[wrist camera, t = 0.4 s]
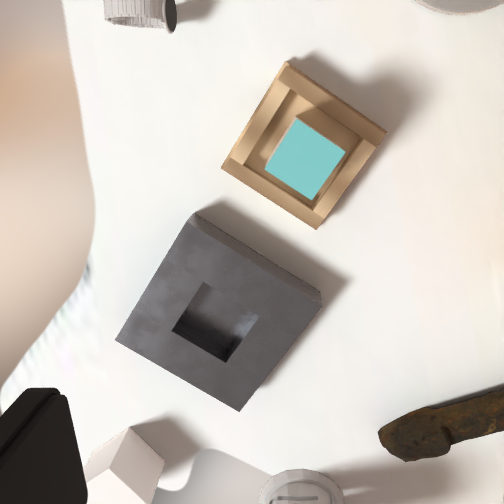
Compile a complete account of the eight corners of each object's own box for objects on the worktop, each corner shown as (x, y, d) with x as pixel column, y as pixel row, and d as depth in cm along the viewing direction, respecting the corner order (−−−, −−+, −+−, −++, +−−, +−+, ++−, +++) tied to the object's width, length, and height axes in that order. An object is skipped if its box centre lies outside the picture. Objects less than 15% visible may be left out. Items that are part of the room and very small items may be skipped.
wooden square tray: (285, 62, 35) (284, 59, 33) (385, 131, 36) (391, 133, 34) (221, 166, 38) (217, 170, 36) (315, 227, 39) (317, 234, 37)
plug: (295, 116, 36) (296, 118, 29) (335, 143, 36) (345, 152, 30) (268, 157, 37) (264, 169, 30) (307, 183, 37) (311, 200, 31)
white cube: (129, 425, 49) (108, 468, 43) (165, 460, 50) (150, 506, 44) (93, 450, 50) (68, 495, 45) (128, 484, 51) (109, 531, 46)
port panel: (193, 212, 40) (186, 221, 37) (319, 292, 41) (322, 306, 39) (125, 324, 44) (114, 340, 41) (242, 392, 46) (239, 411, 43)
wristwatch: (181, 38, 35) (164, 28, 31) (121, 36, 36) (95, 26, 31) (180, -2, 34) (163, -19, 30) (118, -4, 35) (92, -21, 30)
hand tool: (563, 359, 42) (594, 389, 38) (569, 393, 43) (601, 425, 39) (370, 407, 46) (378, 439, 41) (380, 437, 47) (389, 471, 42)
